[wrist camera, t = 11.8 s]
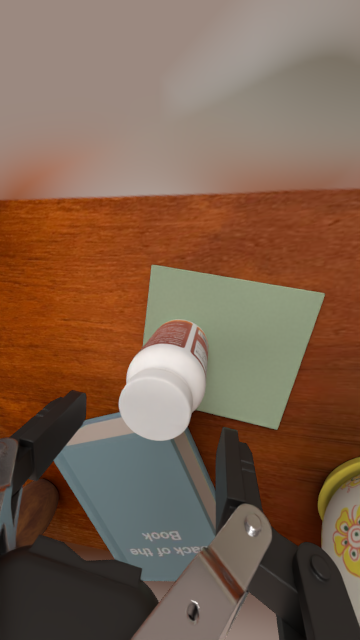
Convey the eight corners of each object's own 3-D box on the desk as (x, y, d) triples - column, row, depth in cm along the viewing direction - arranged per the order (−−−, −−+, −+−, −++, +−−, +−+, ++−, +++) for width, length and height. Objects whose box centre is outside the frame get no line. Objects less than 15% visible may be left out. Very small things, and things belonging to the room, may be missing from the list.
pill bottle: (145, 351, 25) (92, 418, 14) (170, 307, 23) (130, 346, 12) (190, 379, 25) (171, 467, 14) (220, 337, 23) (223, 402, 12)
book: (233, 531, 31) (235, 581, 26) (135, 536, 35) (122, 580, 30) (175, 399, 26) (166, 431, 21) (70, 423, 30) (42, 454, 25)
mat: (153, 264, 23) (151, 264, 22) (322, 292, 21) (325, 293, 20) (138, 393, 27) (137, 395, 27) (276, 426, 25) (277, 430, 25)
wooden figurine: (23, 479, 36) (-106, 625, 21) (43, 466, 34) (-83, 615, 20) (51, 507, 36) (-56, 666, 22) (72, 496, 35) (-30, 660, 20)
